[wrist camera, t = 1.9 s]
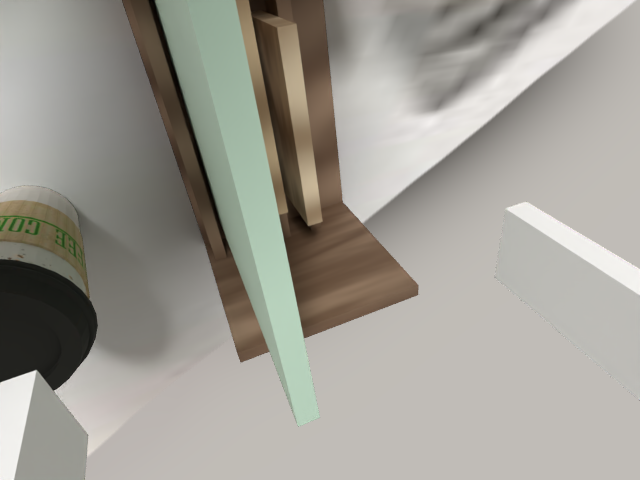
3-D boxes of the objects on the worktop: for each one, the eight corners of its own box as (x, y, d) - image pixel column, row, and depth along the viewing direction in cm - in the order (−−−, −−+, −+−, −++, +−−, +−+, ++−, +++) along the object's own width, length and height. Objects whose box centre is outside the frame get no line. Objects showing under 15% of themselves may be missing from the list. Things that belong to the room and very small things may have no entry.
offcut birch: (245, 13, 31) (277, 27, 25) (261, 10, 31) (296, 23, 25) (278, 183, 39) (308, 226, 33) (290, 179, 39) (322, 221, 33)
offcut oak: (173, -106, 26) (196, -132, 18) (192, -108, 26) (223, -134, 19) (239, 162, 37) (271, 217, 29) (252, 158, 37) (288, 212, 29)
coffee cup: (116, 183, 35) (115, 294, 24) (88, 278, 39) (76, 416, 27) (-35, 145, 30) (-130, 264, 19) (-51, 259, 34) (-140, 419, 22)
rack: (59, -184, 24) (0, -327, 12) (295, -200, 27) (435, -324, 15) (205, 244, 41) (240, 362, 29) (337, 203, 45) (418, 294, 33)
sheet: (116, -122, 25) (110, -291, 8) (137, -124, 25) (176, -292, 8) (219, 220, 39) (298, 426, 22) (232, 216, 39) (320, 417, 22)
